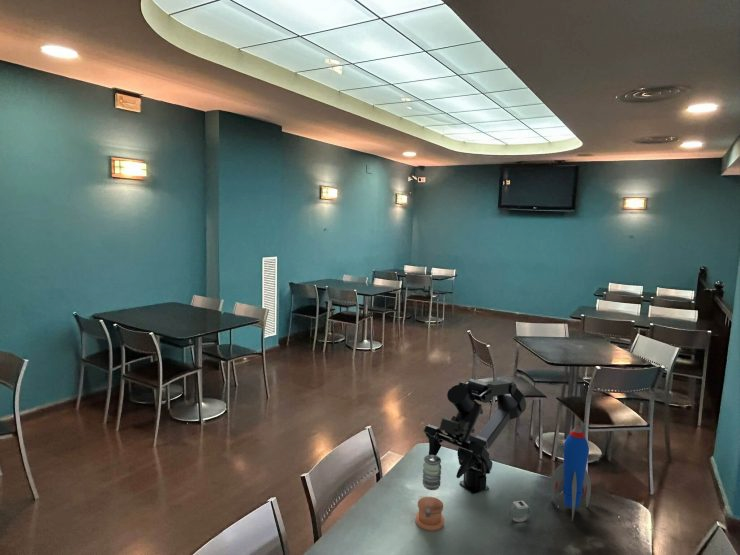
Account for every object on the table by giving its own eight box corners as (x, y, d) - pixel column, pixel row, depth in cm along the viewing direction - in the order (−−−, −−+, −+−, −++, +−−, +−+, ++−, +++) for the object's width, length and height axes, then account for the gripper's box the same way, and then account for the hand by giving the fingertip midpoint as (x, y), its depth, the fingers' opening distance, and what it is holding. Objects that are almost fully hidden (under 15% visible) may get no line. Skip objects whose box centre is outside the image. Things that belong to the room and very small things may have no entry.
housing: (426, 509, 126) (427, 491, 126) (449, 521, 121) (450, 503, 121) (409, 521, 121) (410, 503, 120) (433, 535, 116) (434, 516, 115)
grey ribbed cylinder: (429, 478, 123) (430, 452, 122) (443, 485, 120) (445, 459, 119) (418, 485, 120) (419, 459, 119) (433, 493, 117) (434, 465, 116)
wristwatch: (511, 525, 121) (512, 508, 120) (506, 518, 123) (507, 501, 123) (532, 523, 122) (533, 505, 121) (526, 516, 124) (528, 499, 124)
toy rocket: (589, 506, 130) (596, 422, 127) (596, 527, 121) (604, 438, 118) (548, 499, 133) (555, 417, 130) (552, 519, 123) (559, 432, 121)
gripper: (427, 397, 132) (403, 446, 125) (486, 417, 119) (462, 473, 112) (442, 414, 138) (419, 462, 132) (498, 435, 126) (476, 489, 119)
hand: (442, 471), depth 124 cm, fingers open, 9 cm apart
